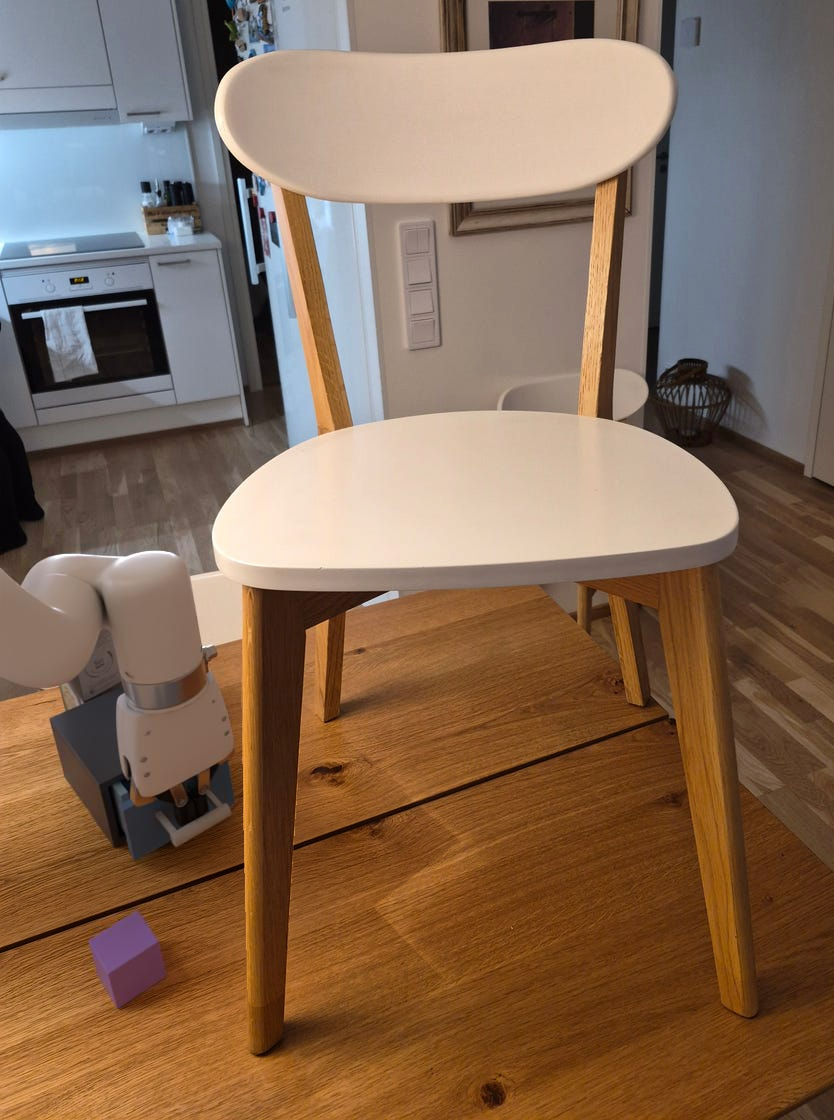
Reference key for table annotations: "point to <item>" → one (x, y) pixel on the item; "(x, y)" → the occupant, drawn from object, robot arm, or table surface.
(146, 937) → the cube
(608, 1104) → the table surface
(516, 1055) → the table surface
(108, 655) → the coffee box
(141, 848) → the blue drawer
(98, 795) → the dark grey drawer cabinet
